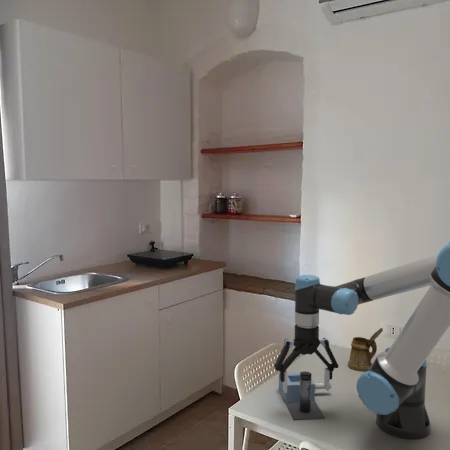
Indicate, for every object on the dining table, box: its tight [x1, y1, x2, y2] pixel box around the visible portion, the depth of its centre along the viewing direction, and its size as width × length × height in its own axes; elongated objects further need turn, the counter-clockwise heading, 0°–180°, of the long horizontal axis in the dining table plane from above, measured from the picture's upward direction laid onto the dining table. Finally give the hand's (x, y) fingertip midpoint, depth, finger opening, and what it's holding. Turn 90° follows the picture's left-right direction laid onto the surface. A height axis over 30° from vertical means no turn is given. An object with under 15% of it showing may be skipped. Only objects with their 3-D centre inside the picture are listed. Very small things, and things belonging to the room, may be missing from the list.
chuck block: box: [278, 371, 332, 404], centre depth 155 cm, size 10×17×6 cm, turn 96°
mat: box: [285, 401, 326, 421], centre depth 144 cm, size 10×10×1 cm
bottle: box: [298, 371, 312, 413], centre depth 143 cm, size 4×4×12 cm
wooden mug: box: [347, 327, 384, 372], centre depth 177 cm, size 9×14×18 cm, turn 45°
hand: (305, 390), depth 143 cm, fingers open, 13 cm apart
